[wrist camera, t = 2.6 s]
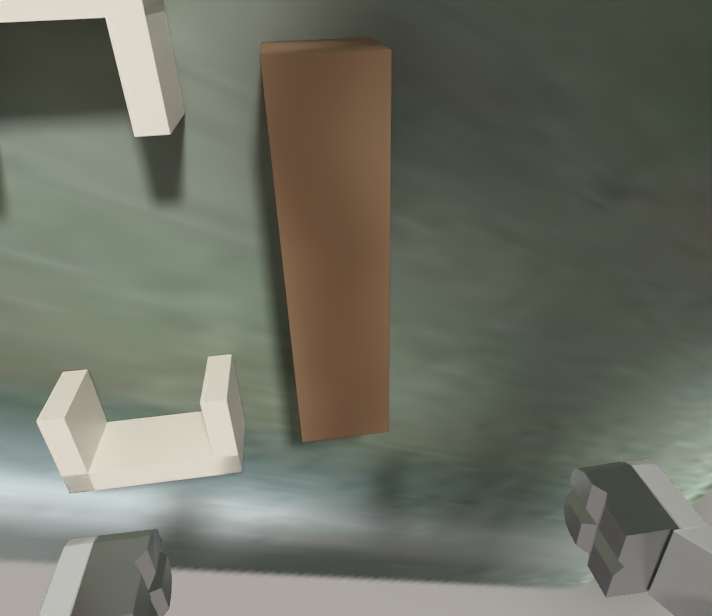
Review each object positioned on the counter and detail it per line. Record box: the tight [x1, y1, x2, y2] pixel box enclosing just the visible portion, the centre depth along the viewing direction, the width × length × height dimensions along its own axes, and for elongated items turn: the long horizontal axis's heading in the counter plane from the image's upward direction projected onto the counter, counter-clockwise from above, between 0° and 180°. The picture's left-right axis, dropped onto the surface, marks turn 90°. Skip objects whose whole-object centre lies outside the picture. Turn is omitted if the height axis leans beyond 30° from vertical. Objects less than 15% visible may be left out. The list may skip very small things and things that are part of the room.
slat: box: [260, 38, 391, 442], centre depth 20 cm, size 4×14×4 cm, turn 2°
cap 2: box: [36, 354, 245, 493], centre depth 23 cm, size 7×4×3 cm, turn 92°
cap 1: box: [0, 0, 185, 137], centre depth 15 cm, size 7×4×3 cm, turn 92°
